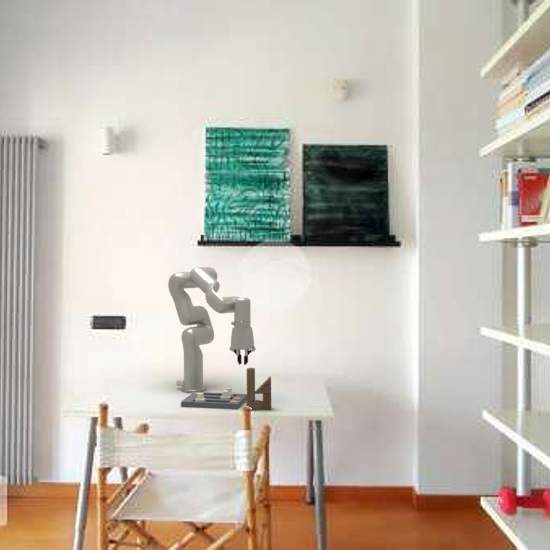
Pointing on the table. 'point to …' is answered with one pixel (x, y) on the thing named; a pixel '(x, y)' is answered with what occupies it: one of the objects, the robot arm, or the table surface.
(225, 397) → the tab mid
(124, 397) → the table surface
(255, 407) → the brown notched upright part
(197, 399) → the tab near
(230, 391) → the tab far
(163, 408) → the table surface
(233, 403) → the switch board
